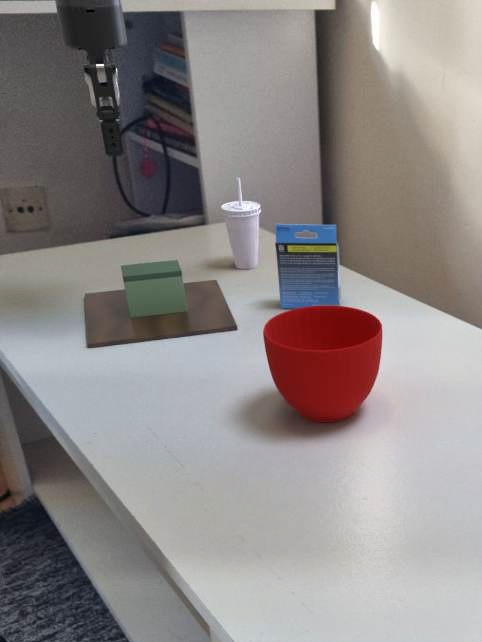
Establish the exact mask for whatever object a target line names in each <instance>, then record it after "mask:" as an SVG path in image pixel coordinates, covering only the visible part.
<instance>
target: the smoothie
mask: <svg viewBox="0 0 482 642" xmlns="http://www.w3.org/2000/svg"><path fill="white" fill-rule="evenodd" d="M235 180H236V187H237V189H236V190H237V198H238V200H235V201H229V202H226V203H224V204H222V205H221V206H220V211H221V212H220V214H221V215H222V216H223V218H224V223H225V227H226V232H227V237H228V239H229V244H230V248H231V252H232V253H231V254H232V257H233V261H234V265H235V268H236V269H239V270H252V269H255V268H257V267H258V266H259V237H260V236H259V235H260V234H259V232H260V214H261V213H262V209H261V204H260V203H259V202H256V201H252V200H243V195H242V185H241V178H240V177H236V179H235Z"/></svg>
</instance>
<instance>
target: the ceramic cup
mask: <svg viewBox="0 0 482 642" xmlns="http://www.w3.org/2000/svg"><path fill="white" fill-rule="evenodd" d="M262 337H263V344H264V350H265V355H266V360H267V364H268V369H269V372H270V376H271V378H272V382H273V383H274V386H275V388H276V389H277V391H278V393H279V394H280V396H282V398H283V399H284V401H285V402H286V403H287V404H288V405H289V407H291V408H292V409H293V410H294V411H296V412H297V413H298V414H299V415H300V416H301V417H302V418H304V419H305V420H308V421H311V422H315V423H335V422H340V421H344V420H345V419H348V418H350V417H351V416H353V414H354V413H355V412H356V410H357V409H359V408H360V406H361V405H362V404H363V403H364V402H365V401H366V399H367V398H368V397H369V396H370V393H371V392H372V390H373V388H374V385H375V382H376V380H377V378H378V375H379V371H380V366H381V359H382V349H383V324H382V323H381V321H380V319H379V318H378V317H377V316H376V315H374V314H372V313H370V312H369V311H367V310H363V309H359V308H355V307H351V306H345V305H340V306H333V305H321V306H308V307H302V308H297V309H288V310H286V311H284V312H280V313H279V314H276V315H274V316H272V317H271V318H270V319H269V320H267V322H266V323H265V324H264V325H263V329H262Z"/></svg>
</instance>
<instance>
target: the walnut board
mask: <svg viewBox="0 0 482 642" xmlns="http://www.w3.org/2000/svg"><path fill="white" fill-rule="evenodd" d="M183 284H184V291H185V298H186V304H187V312H179V313H170V314H161V315H153V316H144V317H135V318H130V312H129V307H128V302H127V297H126V292H125V288H124V289H115V290H105V291H96V292H95V291H94V292H88V293H84V302H85V303H84V307H85V321H86V322H85V324H86V325H85V326H86V344H87V348H88V349H91V348H99V347H107V346H115V345H124V344H131V343H132V344H133V343H140V342H147V341H148V342H149V341H156V340H157V341H158V340H163V339H173V338H182V337H190V336H198V335H204V334H213V333H223V332H229V331H237V330H239V329H238V325H237V322H236V320H235V318H234V315H233V313H232V311H231V309H230V307H229V305H228V302H227V299H226V297H225V295H224V293H223V291H222V289H221V286H220V285H219V281H218V280H217V279H210V280H200V281H199V280H197V281H190V282H183Z"/></svg>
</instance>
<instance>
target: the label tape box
mask: <svg viewBox="0 0 482 642" xmlns="http://www.w3.org/2000/svg"><path fill="white" fill-rule="evenodd" d="M274 231H275V232H274V233H275V243H274V244H275V254H276V265H277V266H276V267H277V278H278V279H277V280H278V291H279V303H280V308H281V309H284V310H285V309H287V310H293V309H297V308H302V307H308V306H321V305H333V306H341V300H342V299H341V297H342V296H341V295H342V289H341V263H340V262H341V261H340V247H339V243H338V242H337V224H310V223H309V224H307V223H306V224H303V223H274ZM304 232H307V233H308V234H314V235H315V237H301V236H300V237H298V236H296V234H303V233H304Z"/></svg>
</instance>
